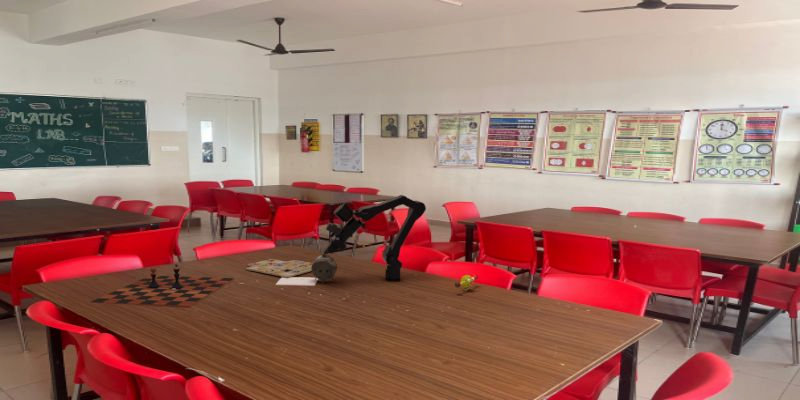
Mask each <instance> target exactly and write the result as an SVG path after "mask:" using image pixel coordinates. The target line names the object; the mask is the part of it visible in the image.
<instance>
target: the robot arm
mask: <svg viewBox="0 0 800 400" xmlns="http://www.w3.org/2000/svg"><path fill="white" fill-rule="evenodd" d="M402 205H403V206H405V207H407V208H408V209H407V213H406V214H407V215H406V218H405V219H404V221H403V223H402V225H401V227H400V229H399V230H398V232H397V234H396V236H395V237H394V239H393V241H392V242H391V244H386V245H385V246H384V249H383V250H382V251H381V252H382V254H381V257H382V260H383V261H384V262H385V263H386V268H385V279H386V282H401V278H402V277H401V269H402V268H403V267H402V266H403V263H402V262H401V261H400V259H399V257H400V254H401V248H402V246H403V245H404V243H405V241H406V239H407V238H408V236H409V233H411V230H412V228H413V227H414V225H415V223H416V222H417V221H418V220H419V219H420V218H421V217H422V215H424V213H426V210H427V207H426V204H425V203H424V202H422V201H419V200H413V199H410V198H409V197H407V196H405V195H403V194H399V195H398V196H395V197H393V198H391V199H387V200H385V201H382V202H378V203H376V204H373V205H372V204H371V205H365V206H361V207H359V208H358V209H353V210H352V208H350V207H349V205H348V204H347V203H346V202H344V203H343V204H341V205H340V206H338V207H337V208H336V209H335V210H334V212H333V214H334V215H335V217H337V218H338V219H339V220H340V221H341V223H342V222H343V223H344V222H345V224H344V225H341V226H338V225H337V224H336V223H332V222H328V223H327V225H326V227H325V230H326V231H328V232H330V233H329V235H330V237H329V243H328V245H327V247H325V248H326V249H327V250H326V249H324V251H323V253H324V254H325V255H328V254H330V253H334V252H336V251H338V250H339V251H340V250H341V251H344V250H346V248H347V244H346V243H347V241H348V240H349V239H350V238H352V237H354V234H356V232H357V231H358V230H359V229H360V228H361V227H362V229H364V230H366V222H367V221H370V220H372V219H373V218H375V217H376V216H378V215H379V214H381V213H384V212H387V211H389V210H392V209H395V208H397V207H400V206H402ZM355 217H356V218H355ZM363 221H364V222H363Z"/></svg>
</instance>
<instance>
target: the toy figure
mask: <svg viewBox="0 0 800 400" xmlns="http://www.w3.org/2000/svg"><path fill="white" fill-rule="evenodd" d="M478 280H479V275H477V274H474V275H472V276H471V275H469V274H466V275H463V276H462V277H461V280H460V282H459V281H456V282H454V287H455V288H457V289H459V288H460V287H461V286H463V287H464V292H469V291H470V289H469V288H470V287H472V286H473V285H474V281H478Z"/></svg>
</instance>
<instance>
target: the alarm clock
mask: <svg viewBox="0 0 800 400" xmlns="http://www.w3.org/2000/svg"><path fill="white" fill-rule="evenodd" d="M326 248H327V247H321V248H320V249H319V253H320V254H321V255H319V256H317V257H316V258H315V259H314V261H312V263H313V264H312V267H311V269H312V271H311V273H312V275H313V277H314V278H315V280H316V279H317V278H318V280H320V281H321V282H322V284H324V283H325V281H328V280H329V281H330V280H331V279H332V280H333V282H335V281H336V280H335V279H334V276H335V275H336V273H337V270H338V264H337V261H336V260H335V259H334V258H333V257H332V256H330V255H328V254H326V255H325V254H324V252H323V253H322V252H321V251H322V250H323V249H324V250H327V249H326Z"/></svg>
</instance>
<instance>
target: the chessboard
mask: <svg viewBox="0 0 800 400" xmlns="http://www.w3.org/2000/svg"><path fill="white" fill-rule="evenodd" d="M174 266H175V267H174V268H173V272H174V274H173V276H172V275H171V276H170V275H157V273H156V272H157V267H150V268H149V271H150V272H151V273H150V274H149V275H148V276H146V277H144V278H142V279H139V280H138V281H135V282H133V283H130V284H128V285H125V286H124V287H123V286H122V287H121V288H119V289H116V290H115V291H112V292H110V293H107V294H105V295H103V296H101V297H99V298H96V299H94V300H91V301H90V303H98V304H112V305H113V304H114V305H115V304H116V305H118V304H119V305H120V304H121V305H132V306H133V305H134V306H135V305H136V306H150V307H151V306H155V307H156V306H157V307H169V308H170V307H171V308H191V307H193V306H194V305H196V304H198V303H199V302H201V301H203V300H204V299H205V298H208V297H209V296H211V295H212V294H214V293H215V292H217V291H218V290H220V289H221V288H223V287H225V286H226V285H228V284H229V283H231V282H233V281H234V280H235V278H234V277H207V276H202V277H201V276H182V275H181V274H180V273H179V272H180V268H179V266H178V264H177V263H176V264H174ZM180 275H181V276H180Z"/></svg>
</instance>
